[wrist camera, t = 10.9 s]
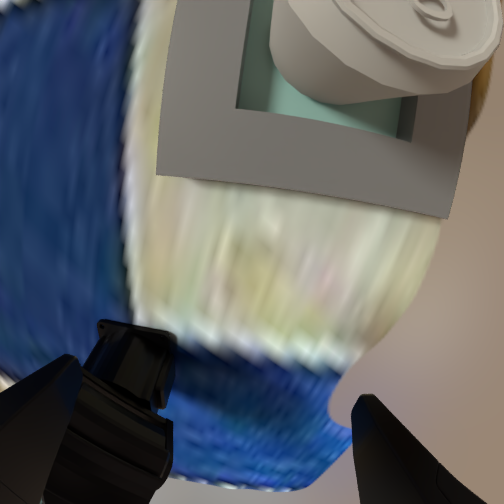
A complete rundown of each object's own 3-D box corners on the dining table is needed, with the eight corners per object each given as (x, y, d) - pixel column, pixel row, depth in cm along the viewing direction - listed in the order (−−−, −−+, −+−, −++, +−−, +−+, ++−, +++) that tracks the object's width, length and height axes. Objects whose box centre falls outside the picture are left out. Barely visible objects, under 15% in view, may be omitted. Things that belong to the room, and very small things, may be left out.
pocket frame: (168, 168, 18) (156, 175, 16) (206, -69, 11) (200, -86, 9) (430, 208, 19) (447, 219, 17) (452, -11, 12) (469, -20, 9)
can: (379, 4, 13) (485, -75, 2) (392, 108, 16) (534, 114, 5) (262, -2, 14) (265, -129, 3) (274, 107, 17) (300, 80, 6)
